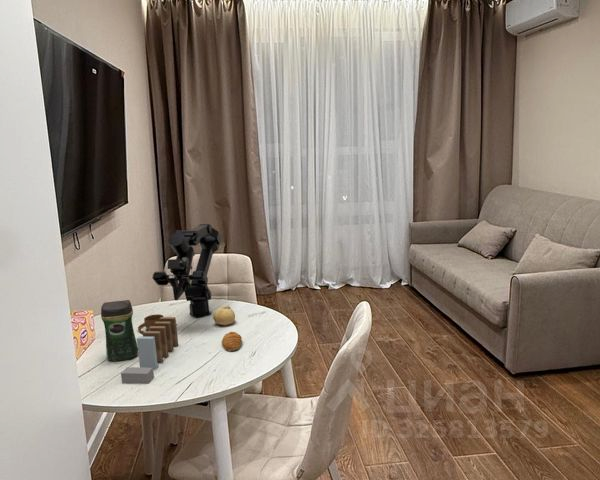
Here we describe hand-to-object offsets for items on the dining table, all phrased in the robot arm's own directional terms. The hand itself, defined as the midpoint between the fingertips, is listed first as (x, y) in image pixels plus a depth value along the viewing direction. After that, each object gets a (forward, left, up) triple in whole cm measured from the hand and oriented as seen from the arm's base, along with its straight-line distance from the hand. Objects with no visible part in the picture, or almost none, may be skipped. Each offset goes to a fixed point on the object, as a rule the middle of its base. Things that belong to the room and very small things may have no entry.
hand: (175, 299), depth 185 cm
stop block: (+24, +24, -13) cm, 36 cm away
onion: (-18, 0, -14) cm, 22 cm away
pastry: (-10, +20, -14) cm, 26 cm away
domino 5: (+9, +9, -13) cm, 19 cm away
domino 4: (+6, +6, -13) cm, 16 cm away
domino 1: (+18, +18, -13) cm, 29 cm away
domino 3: (+12, +12, -13) cm, 22 cm away
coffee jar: (+21, +3, -14) cm, 25 cm away
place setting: (+4, -18, -14) cm, 23 cm away
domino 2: (+15, +15, -13) cm, 25 cm away
